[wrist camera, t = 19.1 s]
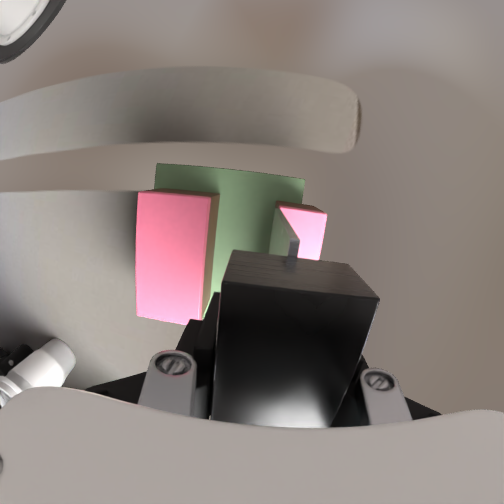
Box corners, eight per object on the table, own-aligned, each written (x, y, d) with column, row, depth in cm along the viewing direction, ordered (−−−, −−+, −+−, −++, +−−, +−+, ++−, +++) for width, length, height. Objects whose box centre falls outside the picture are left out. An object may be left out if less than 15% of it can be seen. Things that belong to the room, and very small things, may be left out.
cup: (66, 379, 30) (23, 433, 18) (37, 341, 29) (-15, 389, 17) (91, 365, 29) (43, 428, 17) (58, 323, 27) (-2, 376, 16)
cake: (162, 188, 22) (137, 191, 17) (220, 193, 22) (208, 198, 17) (158, 290, 24) (136, 315, 19) (210, 299, 24) (198, 327, 19)
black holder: (246, 204, 15) (223, 256, 5) (309, 213, 15) (387, 276, 5) (229, 347, 17) (207, 483, 8) (282, 353, 17) (296, 489, 8)
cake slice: (276, 200, 22) (279, 206, 17) (313, 205, 22) (327, 214, 17) (260, 305, 24) (259, 336, 19) (294, 309, 24) (301, 340, 19)
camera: (8, 319, 28) (-26, 344, 20) (39, 354, 29) (8, 384, 21) (2, 366, 31) (-23, 388, 24) (28, 394, 32) (6, 420, 25)
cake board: (161, 163, 23) (156, 163, 21) (303, 179, 23) (305, 179, 21) (154, 303, 26) (150, 308, 25) (279, 321, 26) (280, 328, 25)
